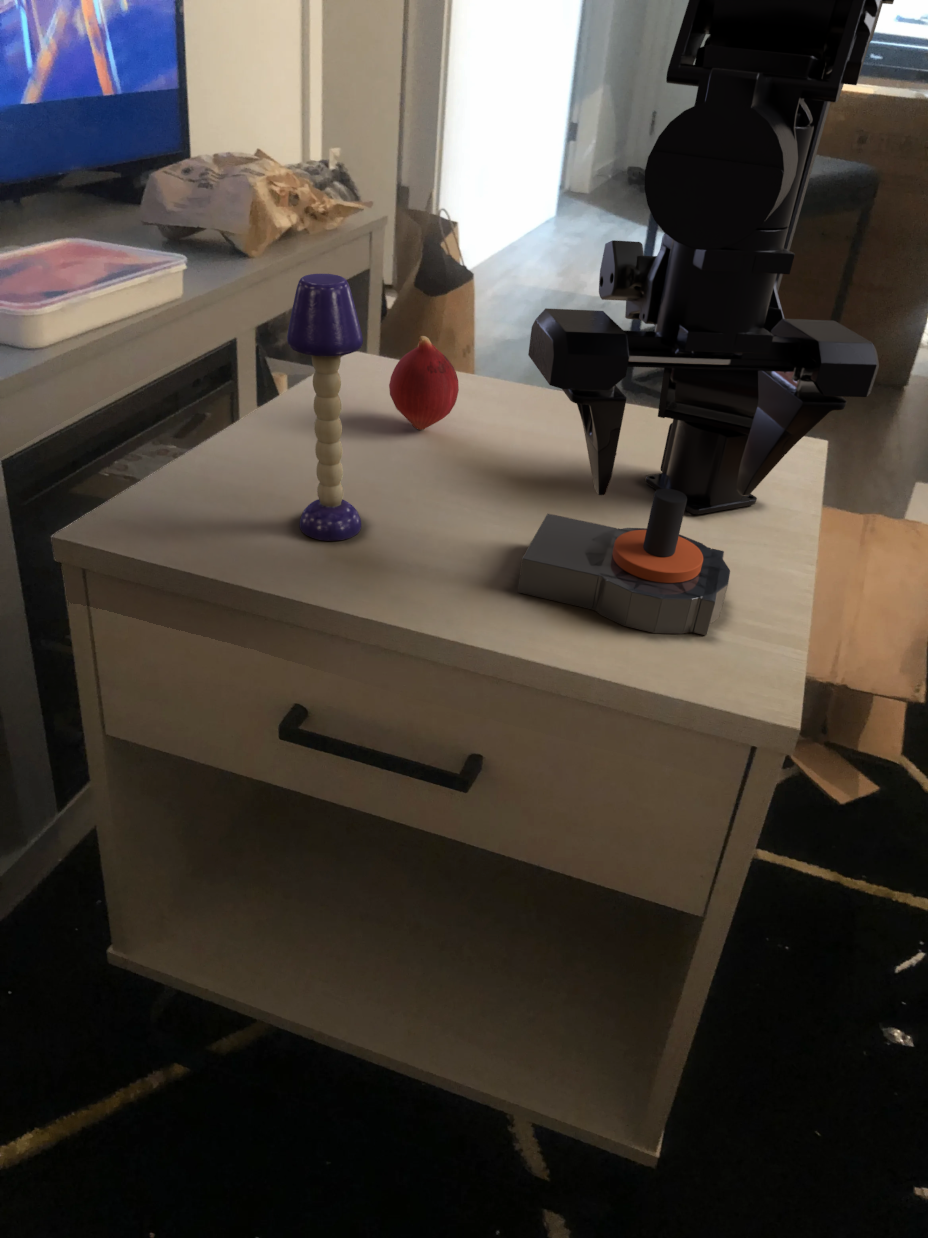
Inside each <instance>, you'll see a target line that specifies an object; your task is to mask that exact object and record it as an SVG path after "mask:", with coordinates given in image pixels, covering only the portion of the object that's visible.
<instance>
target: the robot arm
mask: <svg viewBox="0 0 928 1238" xmlns="http://www.w3.org/2000/svg"><path fill="white" fill-rule="evenodd" d="M894 2H895V0H688V2H687V5H686V9H685V12H684V15H683V19H682V21H681V25H680V28H679V31H678V34H677V38H676V40H675V41H676V42H675V44H674V46H673V51H672V54H671V56H670V60H669V64H668V67H667V71H666V78H665V79H666V84H670V85H671V84H672V85H679V86H680V85H681V86H687V87H697V90H696V97H695V101H694V105H693V106H691V107H689V108H687V109H684V110H683V111H682V112H681V113H680V114H678V115H677V116H676V117H674V118H673V119H672V120H671V121H669V123H668V124H667V125H666V126H665V128H664V129H663V130H662V131H661V133H660V134H659V135H658V137H657V139H656V141H655V143H654V146H653V147H652V149H651V151H650V153H649V155H648V156H647V161H646V165H645V170H644V186H643V187H644V193H645V199H646V203H647V206H648V209H649V211H650V213H651V216H652V219H653V221H654V222H655V223H656V224H657V225H658V227H659V228H660V230H662V232H663V235H662V238H661V241H660V242H661V243H660V248H659V251H658V253H657V255H645V253H644V245H643V243H642V242H640V241H633V240H632V241H631V240H617V239H616V240H610V241H607V242H606V243H605V244H604V249H603V253H602V258H601V262H600V263H601V264H600V269H599V278H598V280H599V281H598V294H599V298H600V299H601V300H602V301H604V300H605V301H619V302H620V301H623V302H625V311H624V312H625V315H624V318H625V319H627V320H639V321H640V320H641V321H642V322H643V323H644V324H645V325H654V326H655V328H654V331H647V330H645V331H644V330H643V331H642V330H624V329H622V327H620V325H618V324H617V322H615V320H614V319H612V318H611V317H610V316H609V315H608V314H607V313H606V312H605V311H604V310H594V309H593V310H592V309H570V308H569V309H567V308H547V307H546V308H544V310H542V312H541V313H539V315H538V316H537V317H536V318H535V319H534V321H533V323H532V326H531V329H530V338H529V346H528V352H527V353H528V354H527V355H528V357H529V358H530V360H531V361H532V363H533V364H534V365H535V367H536V368H537V369H538V371H539V372H540V374H541V375H542V377H543V378H544V379H545V381H546V382H547V383H548V385H549V386H550V387H554V388H558V389H561V390H562V392H563V393H564V395H566V397H567V399H568V400H569V401H570V402H571V403H573V404H576V407H577V409H578V412H579V415H580V420H581V422H582V428H583V432H584V438H585V443H586V450H587V456H588V461H589V467H590V471H591V473H590V474H591V478H592V484H593V488H594V490H595V492H596V493H597V495H598V496H605V495H606V493H607V492H608V488H609V485H610V482H611V480H612V476H613V471H614V466H615V461H616V455H617V451H618V445H619V440H620V435H621V430H622V424H623V421H624V415H625V408H626V404H627V396H626V395H625V393H623V392H622V390H621V389H620V388H619V387H618V384H619V383H620V382H621V381H622V380H624V378H626V377H627V372H628V367H629V368H653V369H655V368H657V369H663V374H662V382H661V389H660V397H659V404H658V411H657V418H661V419H671V420H672V422H671V423H670V424H669V426H668V431H667V434H666V435H667V436H666V440H665V445H664V450H663V455H662V458H661V464H660V473H655V474H648V475H646V476H645V480H644V482H645V483H646V484H647V485H648V486H649V487H651V488H653V489H654V490H655V491H657V490H659V489H673V490H677V491H680V492H682V493H684V494H685V495H686V496H687V502H686V507H685V511H687V512H688V513H690V514H692V515H704V514H710V513H714V512H715V513H716V512H720V511H725V510H731V509H737V508H744V507H749V506H753V505H756V504H757V500H758V498H757V496H756V495H754V494H752V493H753V492H754V490H756V488H757V487H758V486H759V485H760V484H761V483H762V481H764V480H765V478H766V477H767V476H768V475H769V474H770V472H772V470H773V469H774V468H775V467H776V466H777V465H778V464H779V463H780V462H781V461H782V460H783V458H784V457H785V456H786V455H788V453H789V451H791V450H792V448H794V447H795V445H796V444H797V443H799V442H800V440H802V438H804V437H805V436H806V435H807V434H808V433H809V432H810V431H811V430H812V429H813V428H814V427H816V425H817V424H819V423H820V422H821V421H822V420H823V419H824V418H825V417H826V416H827V415H829V413H831V412H834V411H839V412H840V411H843V410H844V409H845V407H846V406H847V403H848V400H847V399H846V398H845V397H847V398H849V397H850V398H867V397H869V396H870V395H871V393H872V390H873V387H874V384H875V381H876V378H877V375H878V372H879V368H880V362H879V356H878V352H877V351H878V350H877V349H876V346H875V344H874V342H872V341H870V340H868V339H867V338H865V337H863V336H862V335H860V334H859V333H856V332H855V331H853V330H852V329H850V328H848V327H847V326H845V325H843V324H841V323H840V322H837V321H836V320H829V319H828V320H825V319H804V318H803V319H802V318H785V315H784V311H783V308H782V304H781V300H780V296H779V290H780V286H781V282H782V279H783V275H791V270H792V267H793V264H794V263H793V262H794V259H795V256H796V253H794V252H792V251H790V250H791V246H792V243H793V239H794V236H795V232H796V229H797V225H798V221H799V218H800V214H801V211H802V207H803V204H804V199H805V196H806V192H807V190H808V186H809V181H810V178H811V175H812V171H813V167H814V164H815V160H816V156H817V153H818V150H819V146H820V142H821V140H822V136H823V131H824V127H825V124H826V122H827V121H826V120H827V118H828V113H829V109H830V106H831V103H834V104H835V103H838V102H839V100H840V97H841V93H842V91H843V87H844V85H849V86H850V85H851V86H857V85H858V81H859V79H860V75H861V73H862V69H863V67H864V62H865V59H866V56H867V52H868V50H869V46H870V43H871V42H872V40H873V38H874V34H875V32H876V28H877V24H878V21H879V18H880V14H881V10H882V7H883V4H885V5H893V4H894ZM706 35H708V36H707V37H706ZM705 38H706V40H705V41H704V39H705ZM703 42H704V44H703ZM702 44H703V45H702Z"/></svg>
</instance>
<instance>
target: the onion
mask: <svg viewBox="0 0 928 1238" xmlns="http://www.w3.org/2000/svg"><path fill="white" fill-rule="evenodd" d="M418 340H419V341H418V344H417V346H416V347H414V348H413V349H412V350H410V351H409V352H407V353H405V354H404V355H403V356H402V357H401V358H400V359H399V360H398V362H397V363H396V365H395V366H394V369H393V371H392V373H391V376H390V380H389V384H388V388H389V396H390V398H391V401H392V403H393V405H394V406H395V408H396V410H397V411H398V412H399V413H400V414H401V415H402V416H403V417H404V418H405V419H406V420H407V421H408V422H409V423H410V424H411V425H412V426H413V427H414V428H415V429H417V430H420V431H422V430H425V429H427V428H429V427H431V426H433V425H434V424H436V423H438V422H440V421H442V420H443V419H445V417H447V416H448V415H449V414H451V412H452V411H453V408H454V407H455V405H456V402H457V399H458V395H459V390H460V387H459V378H458V374H457V371H456V370H455V366H454V365H453V364H452V363H451V361H450V360H449V359H448V357H447V356H445V354H443V353H442V351H440V350H439V349H438V348H437V347H436V346H435V345H434V344H433V343H432V342H431V340H430V338H429V337H427V336H426V335H420V336H419V337H418Z"/></svg>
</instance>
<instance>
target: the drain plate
mask: <svg viewBox="0 0 928 1238" xmlns="http://www.w3.org/2000/svg"><path fill="white" fill-rule="evenodd" d="M635 530H647V527H622V528H617V527H613V526H609V525H605V524H599V523H595V522H590V521H585V520H580V519H576V518H571V517H567V516H561V515H557V514H552V513H547V514H545V516H544V518H543V520H542V522H541V523H540V525H539V527H538V528H537V531H536V533H535V535H534V537H533V538H532V539H531V541H530V543H529V545H528V547H527V548H526V550H525V552H524V554H523V556H522V558H521V563H520V571H519V577H518V584H517V593H518V594H524V595H528V596H532V597H536V598H541V599H545V600H550V601H554V602H558V603H563V604H566V605H571V606H575V607H579V608H584V609H588V610H592V611H595V612H596V613H598V614H599V615H600V616H602V617H604V618H606V619H609V620H610V621H612V622H615V623H617V624H619V625H621V626H623V627H627V628H630V629H635V630H640V631H644V632H648V633H651V634H672V635H673V634H675V635H678V634H680V635H682V634H688V633H691V634H692V633H694V634H697V635H702V636H707V635H708V634H709V629H710V627H711V626H710V625H711V624H713V623H714V622H715V621H717V620H718V618H720V616H721V612H722V610H723V605H724V601H725V598H726V594H727V591H728V587H729V582H730V576H731V569H730V567H729V566H728V564H727V563H726V562H725V560H724V556H725V551H724V550H722V549H716V548H711V547H708V546H706V545H705V544H703V542H700V541H697V540H694V539H692V538H690V537H687V536H685V535H682V534H680V533H679V536H680V537H682V538H684V539H686V540H688V541H690V542H691V543H693V544H694V545H696V546H697V547H698V548H699V550H700V551H701V552H702V555H703V563H702V567H701V571H700V573H699V574H698V575H697V576H696V577H695V578H693V579H691V580H689V581H685V582H680V583H660V582H654V581H649V580H645V579H642V578H639V577H636V576H634V575H632V574H630V573H628V572H626V571H625V570H623V569H622V568H621V567H619V566H618V565H617V564H616V562H615V561H614V558H613V548H614V543H615V540H616V539H617V538H618V537H619V536H620V535H622V534H624V533H626V532H630V531H635Z"/></svg>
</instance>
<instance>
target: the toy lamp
mask: <svg viewBox="0 0 928 1238" xmlns="http://www.w3.org/2000/svg"><path fill="white" fill-rule="evenodd" d="M293 299H294V300H293V304H292V308H291V314H290V319H289V324H288V328H287V335H286V341H287V345H288V346H289V348H290V349H292V350H293V351H294V352H297V353H299V354H302V355H306V356H311V363H312V367H313V369H314V372H313V376H312V388H313V391H314V393H315V395H314V398H313V411H314V414H315V416H316V418H315V421H314V423H313V424H314V425H313V427H314V429H313V430H314V435H315V437H316V439H317V440H316V443H315V446H314V452H315V456H316V459H317V461H318V462H317V464H316V467H315V468H316V469H315V470H316V471H315V473H316V478H317V480H318V485H317V487H316V488H317V490H316V492H317V494H316V495H317V498H318V499H315V500H313V501H312V502H310V503H309V504H308V505H307V506H306V507H305V508H304V509H303V511H302V513H301V516H300V519H299V530H300V531H301V532H302V533H303V534H304V535H306V536H307V537H309V538H312V539H315V540H320V541H326V542H337V541H342V540H343V541H344V540H348V539H351V538H353V537H355V536H357V535H358V534H359V532H360V531H361V529H362V519H361V516H360V514H359V511H358V509H356V508H355V506H354V505H353V504H351V503H350V502H349V501H347V500H345V499H343V498H344V487H343V485H342V480H343V476H344V470H343V469H344V468H343V465H342V463H341V461H342V457H343V445H342V442H341V440H340V439H341V438H342V433H343V426H342V421H341V419H340V415H341V412H342V400H341V397H340V395H339V393H340V391H341V389H342V388H341V387H342V380H341V379H342V378H341V376H340V375H341V374H340V373H339V369H340V366H341V361H342V360H341V359H342V358H341V356H347V355H350V354H352V353H355V352H357V351H358V350H360V349H361V348H362V346H363V343H364V338H363V332H362V329H361V324H360V320H359V317H358V312H357V308H356V305H355V301H354V297H353V294H352V290H351V287H350V284H349V282H348V280H347V279H346V278H345V277H343V276H342V275H338V274H334V273H310V274H306V275H304V276H302V277H301V278H300V279H299V280H298V283H297V286H296V289H295V295H294V298H293Z"/></svg>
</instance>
